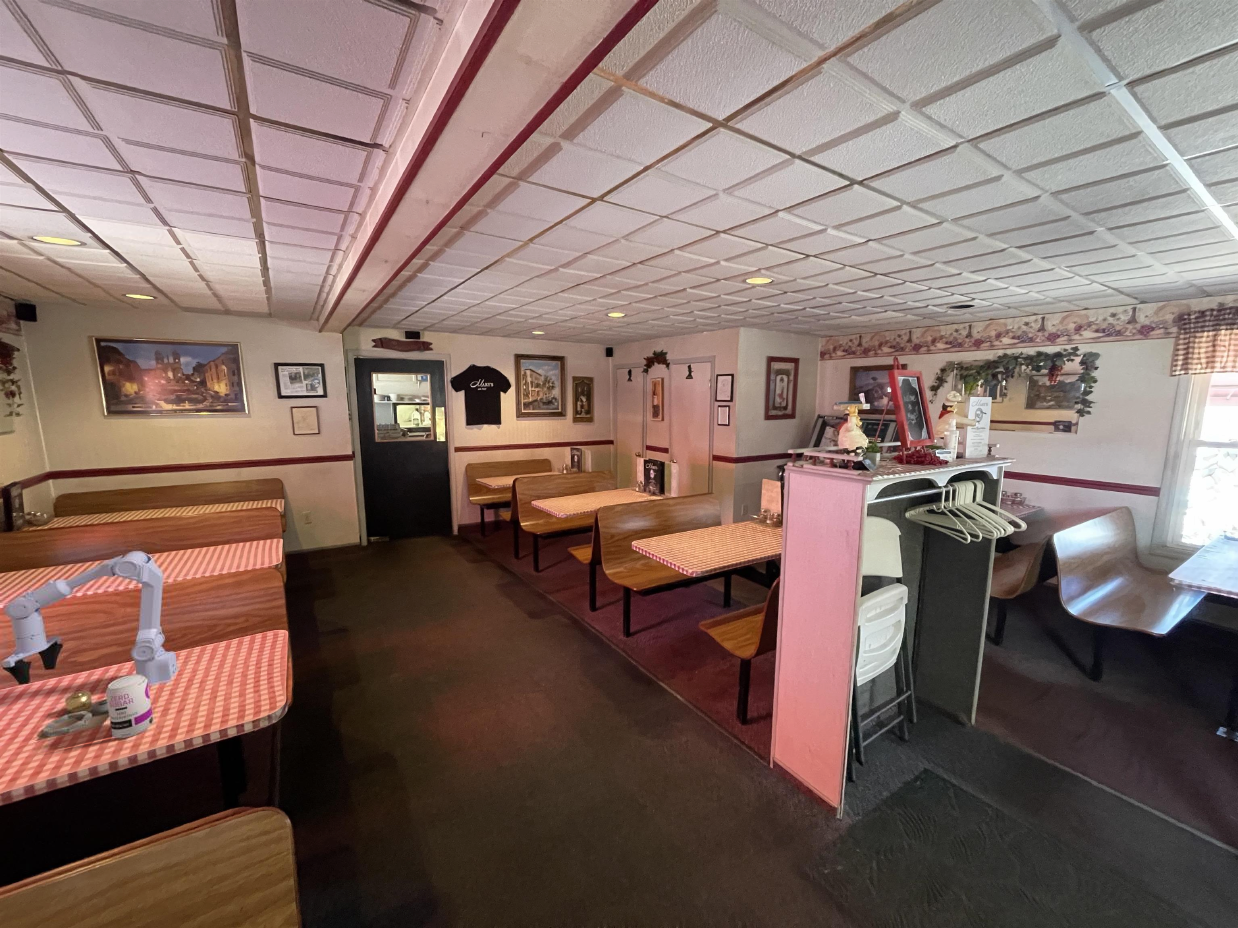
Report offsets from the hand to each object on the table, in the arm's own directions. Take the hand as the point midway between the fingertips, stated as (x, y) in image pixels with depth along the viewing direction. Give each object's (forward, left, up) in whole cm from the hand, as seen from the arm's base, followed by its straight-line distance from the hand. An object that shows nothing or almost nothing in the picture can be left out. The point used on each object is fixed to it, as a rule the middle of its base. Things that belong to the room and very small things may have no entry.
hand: (37, 676), depth 143 cm
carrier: (-15, +14, -10) cm, 22 cm away
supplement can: (-30, +27, -10) cm, 41 cm away
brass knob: (-12, +9, -9) cm, 17 cm away
